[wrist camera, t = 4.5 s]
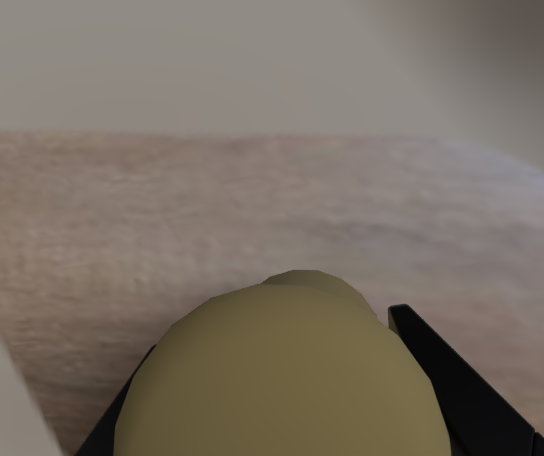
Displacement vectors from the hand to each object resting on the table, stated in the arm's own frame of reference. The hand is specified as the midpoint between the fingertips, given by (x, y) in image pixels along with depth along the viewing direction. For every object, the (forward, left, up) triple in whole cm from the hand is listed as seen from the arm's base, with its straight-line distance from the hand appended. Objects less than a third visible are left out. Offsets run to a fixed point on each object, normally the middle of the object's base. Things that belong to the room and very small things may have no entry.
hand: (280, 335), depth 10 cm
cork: (-1, 0, -7) cm, 7 cm away
